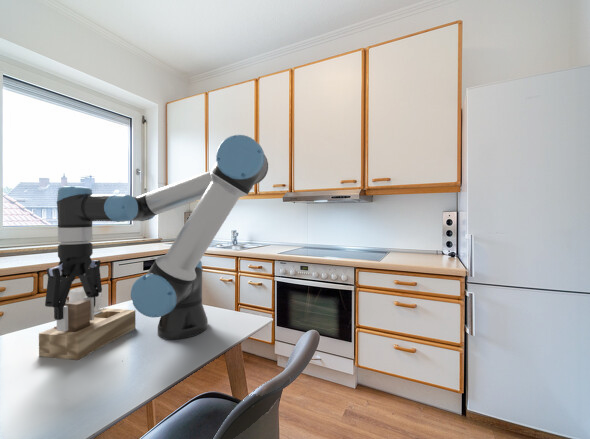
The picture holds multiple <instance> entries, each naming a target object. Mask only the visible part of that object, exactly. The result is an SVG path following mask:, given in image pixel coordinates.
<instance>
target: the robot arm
mask: <svg viewBox="0 0 590 439" xmlns="http://www.w3.org/2000/svg"><path fill="white" fill-rule="evenodd" d="M215 157H216V158H215V163H214V165H213V167H212V168H211V169H210V170H208V171H205V172H202V173H199V174H197V175H194V176H191V177H188V178H185V179H183V180H180V181H177V182H174V183H172V184H169V185H166V186H162V187H159V188H158V189H155V190H152V191H150V192H149V191H148V192H146V193H143V194H141V195H137V196H133V195H130V194H124V193H113V194H93V190H92V189H91V188H89V187H87V186H86V187H85V186H69V185H68V186H61V187H59V188H58V190H57V200H56V207H57V211H56V212H57V242H58V245H57V258H59V263H58V265H56V266H54V267H48V268H47V269H46V273H47V284H46V291H45V292H46V293H45V294H46V295H45V303H44V306H45V307H47V308H48V307H49V308H53V312H54V313H53V314H54V316H53V318H54V320H56V326H57V331H68V306H65V303H67V300H68V298H69V297H68V296H69V294H70V290H71V287H72V284H73V282H74V281H76V278H79V280H80V281H79V282H80V284H81V285H82V286H81V287H83V288H84V291H85V293H86V296H88V297H84V300H90V320H94V307H95V297H98V296H99V293H101V292H103V286H102V278H101V270H100V268H101V260H95V259H92V258H91V256H92V255H93V248H94V247H93V245H94V244H93V243H92V242H91V241H93V222H115V223H123V222H124V223H125V222H134V221H135V222H145V221H149V220H151V219H153V218H155V216H157V215H160V214H163V213H165V212H168V211H171V210H175V209H176V208H179V207H182V206H186V205H188V204H192V203H194V202H197V201H198V202H197V204H196V205H195V207H194V209H193V210H192V211H191V214H190V215H189V216H188V218H187V220H186V222H185V223H184V225H183V226H182V228H181V230H180V231H179V233H178V234H177V236H176V238H175V239H174V240H173V242H172V244H171V245H170V247H169V249H168V250H167V252H166V254H164V255H160V256H157V258H156V259H155V260H154V261H153V263H152V265H151V267H150V268H149V269H148V271H147V272H146V274H143V275H141V276H140V277H138V278H137V279H136V280H135V281H134V283H133V284H132V286H131V288H130V299H131V301H132V304H133V307H134V308H135V310H136V311H137V312H139V314H141V315H143V316H145V317H148V318H159V322H158V324H157V335H158V337H160V338H162V339H166V340H168V339H169V340H178V339H179V340H180V339H186V338H191V337H194V336H197V335H200V334H201V333H204V332H205V331H206V330H207V329H208V324H209V320H208V316H207V313H206V311H205V308H204V305H203V263H202V261H201V260H202V258H203V256H204V255H205V253H206V251H207V250H208V248H209V247H210V245H211V244H212V242H213V240H214V239H215V237H216V235H217V234H218V233H219V231H220V229H221V227H222V226H223V225H224V223H225V221H226V220H227V218H228V216H229V215H230V213H231V211H232V210H233V208H234V207H235V205H236V203H237V202H238V201H239V199H240V198H241V197H245V196H248V195H249V193H250V191H251V190H252V189H253V187H254V186H255V185H257V184H259V183H261V182H262V181H263V180H264V179H265V178H266V176H267V175H268V172H269V171H268V170H269V162H268V159H267V156H266V154H265V152H264V150H263V148H262V146H261V145H260V143H258V142H257V141H256V140H255V139H254V138H252V137H251V136H248V135H244V134H235V135H230V136H228V137H226V138H225V139H224V140H223V141H221V143H220V144H219V145H218V148H217V150H216V155H215Z"/></svg>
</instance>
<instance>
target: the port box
mask: <svg viewBox="0 0 590 439" xmlns="http://www.w3.org/2000/svg"><path fill="white" fill-rule="evenodd" d="M136 324H137V323H136V309H122V308H107V307H104V308H100V310H98V311H95V312H94V320H90V326H88V327H86V328H84V329H81V330H79V331H77V332H67V331H57V325H56V326H54V327H52V328H50V329H47V330H44V331H41V332H39V333H38V356H39V357H45V358H55V359H63V360H65V359H66V360H75V361H79V360H80V359H82V358H84V357H87V356H88V355H89V354H92V353H93V352H95V351H97V350H99V349H101V348H102V347H105V346H106V345H108V344H110V343H112V342H113V341H116V340H117V339H119V338H121V337H123V336H124V335H126V334H128V333H130V332H131V331H133V330H135V329H136Z"/></svg>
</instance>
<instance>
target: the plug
mask: <svg viewBox="0 0 590 439" xmlns="http://www.w3.org/2000/svg"><path fill="white" fill-rule="evenodd" d="M65 306H68V331H67V332H77V331H79V330H81V329H84V328H86V327H88V326H90V300H80V299H78V300H75V301H71V302H66V303H65Z"/></svg>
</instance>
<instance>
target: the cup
mask: <svg viewBox="0 0 590 439" xmlns="http://www.w3.org/2000/svg"><path fill="white" fill-rule="evenodd" d="M102 292H103V291H102ZM102 292H101V293H99V296H98V297H95V307H94V312H95V311H98V310H101V305H102V304H101V303H102V298H103V293H102ZM68 296H69V297H68V301H69V302H71V301H75V300H78V299H80V300H84V297H88V296H86V293H85V291H84V288H83V286H79V287H75V288H70V290H69V294H68Z"/></svg>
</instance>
